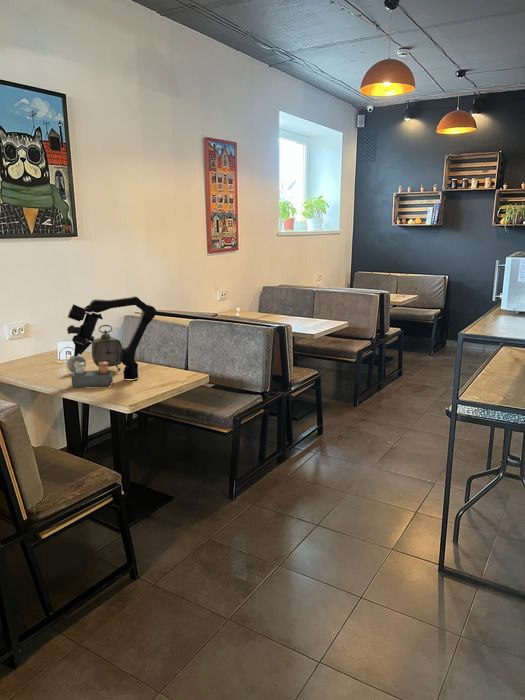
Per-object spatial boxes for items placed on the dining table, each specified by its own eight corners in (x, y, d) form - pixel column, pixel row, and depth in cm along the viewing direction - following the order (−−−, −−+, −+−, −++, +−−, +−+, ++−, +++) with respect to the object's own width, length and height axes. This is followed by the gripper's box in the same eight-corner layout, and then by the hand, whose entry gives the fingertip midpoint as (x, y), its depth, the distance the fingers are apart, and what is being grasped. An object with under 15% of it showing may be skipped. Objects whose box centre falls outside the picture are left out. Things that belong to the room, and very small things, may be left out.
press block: (112, 382, 252) (112, 370, 251) (109, 387, 243) (108, 375, 242) (77, 382, 250) (76, 371, 249) (72, 388, 241) (71, 375, 240)
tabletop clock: (95, 374, 265) (92, 327, 260) (92, 370, 273) (89, 324, 268) (123, 371, 272) (121, 325, 267) (119, 367, 280) (117, 322, 275)
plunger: (86, 373, 247) (85, 362, 246) (84, 375, 243) (83, 364, 242) (76, 373, 247) (76, 362, 246) (74, 375, 243) (73, 364, 241)
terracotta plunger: (109, 372, 248) (108, 361, 247) (107, 375, 244) (107, 363, 243) (100, 373, 248) (99, 361, 247) (98, 375, 244) (97, 364, 242)
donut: (70, 375, 263) (68, 356, 261) (66, 374, 266) (65, 355, 264) (87, 371, 271) (86, 353, 269) (84, 370, 273) (83, 352, 271)
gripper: (77, 318, 252) (66, 347, 253) (67, 319, 234) (55, 350, 235) (99, 326, 254) (88, 355, 255) (91, 328, 236) (79, 359, 236)
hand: (77, 355), depth 245 cm, fingers open, 9 cm apart
